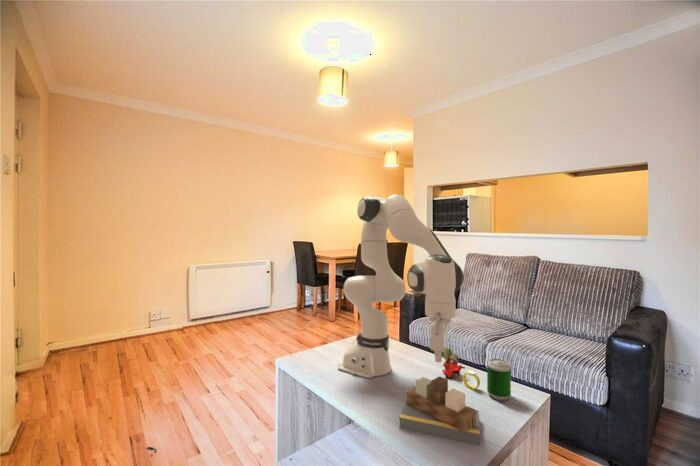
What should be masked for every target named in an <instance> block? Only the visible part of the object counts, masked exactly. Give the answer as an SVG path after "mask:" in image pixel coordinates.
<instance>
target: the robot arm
mask: <svg viewBox="0 0 700 466" xmlns="http://www.w3.org/2000/svg"><path fill="white" fill-rule="evenodd" d="M357 216H358V217H359V219H360V220H362V221H364V222H363V224H362V229H361V237H360V238H361V239H360V244H361V245H360V259H361V263H363V264H364V265H365V266H366V267H369V268H370V269H372V270H374V272H375V275H355V276H351V277H350V276H349V277H347V278H346V280H345V281H344V284H343V288H342V289H343V293H344V296H345V297H346V299H347V300H348V301H349V302H351V304H353V305H354V306H355V308H356V310H357V311H358V314H359V318H360V331H359V332H358V334H357V335H356V337H355V341H356V342H355V343H354V344H352V345H351V346H349V347H348V348H347V349H346V351H345V352H344V355H343V358H342V359H341V360H340V361H339V362H338V364H337V369H338V370H339V369H340V370H339V371H341V370H343V371H342V372H345V371H346V372H345V373H348V372H349V374H352V375H355V374H356V376H360V377H362V378H363V377H364V378H366V379H371V378H374V377H378V376H385V375H387V374H389V373H391V371H392V369H393V368H392V367H393V366H392V365H391V360H390V353H389V348H390V337H389V336H390V335H389V333H388V331H389V329H388V327H389V326H388V325H389V323H388V322H389V321H388V320H389V319H388V316H387V314H386V313H384V311H382V310H380V309H378V308H376V307H374V305H373V303H393V302H398V301H399V302H400V301H401V300H402V299H403V298H404V297H405V295H406V291H407V289H406V284H405V282H404V280H403V279H402V277H400V276H398V274H396V273H395V272H394V270H393V269H392V268H391V266H390V263H389V258H388V246H387V245H388V242H387V231H388V229H389V232H390V233H391V235H392V236H393V238H394V239H395V240H398V241H399V242H402V243H406V244H410V245H414V246H417V247H419V248H422V249H424V250H425V251H426V252H427V253H428V256H427V257H426V259H425V260H424V261H422V262H419V263H414V264H412V265H411V266H410V267H409V269H408V271H407V274H406V275H407V277H406V278H407V279H406V280H407V286H408V287H409V288H410V289H411V290H412V291H413V292H414V293H419V294H425V298H424V315H425V316H426V317H428V320H429V321H430V323H431V324H430V330H429V331H430V332H429V333H430V335H429V336H430V338H429V348H430V350H431V351H432V352H433V353H434V361H435V363H439V364H440V363H442V361H443V351H444V348H446V342H447V335H448V332H449V328H450V323H451V322H452V319H454V318H456V314H457V313H456V310H457V309H456V305H457V304H456V303H457V301H456V296H455V293H456V292H458V290H459V289H461V287H462V285H463V283H464V280H465V275H464V272H463V269H462V268H461V267H460V265H459V264H458V263H457V262H456V260H455V259H453V258H452V256H451V255H450V253H449V252H448V251H447V249H446V248H445V247H444V245H443V244H442V242H441V240H440V239H439V237H437V235H436V233H435V232H434V231H433V230H432V229H431V228H430V227H428V226H426V225H425V224H424V223H423V222H422V221H421V220H420V219H419V218H418V217H417V215H416V213H415V211H414V208H413V207H412V205H411V204H410V202H409V200H408V199H406V197H405V196H403V195H401V194H392V195H390V196H389V197H388V196H387V197H378V196H372V195H369V196H364V197H362V198H361V199H360V200H359V202H358V205H357Z"/></svg>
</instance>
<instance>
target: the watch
mask: <svg viewBox="0 0 700 466" xmlns="http://www.w3.org/2000/svg"><path fill="white" fill-rule="evenodd" d="M467 375H469V376H473V377H474V378H475V380H476V382H477V386H476V387H475V386H473V385H470V384H469V383H468V382H467V379H466V377H467ZM462 381H463V384H464V385H465V386H466V387H467V388H469V389H471V390H476V389H478V388H479V387H480V385H481V380H480V377H479V376H478V375H477V374H476V372H475V371H474V370H472V369H470V370H467V372H465V373H464V374H463V376H462Z"/></svg>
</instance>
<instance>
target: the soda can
mask: <svg viewBox="0 0 700 466" xmlns="http://www.w3.org/2000/svg"><path fill="white" fill-rule="evenodd" d="M486 368H487V369H486V370H487V372H486V373H487V376H486V377H487V378H486V379H487V382H486V383H487V384H486V386H487V387H486V391H487V394H488V395H489V396H490V398H492V399H494V400H497V401H502V400H504V401H507V400H508V399H509V398H510V397H511V396H512V395H511V393H512V392H511V391H512V390H511V389H512V367H511V365H510V364H509V362H507V361H506V360H504V359H501V358H491V359H490V360H488V362H487V366H486Z"/></svg>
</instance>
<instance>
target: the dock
mask: <svg viewBox="0 0 700 466" xmlns="http://www.w3.org/2000/svg"><path fill="white" fill-rule="evenodd" d="M406 402H407V398H406V400H405V402H404V405H403V407H402V410H401V413H400V415H399V428H400V429H404V430H408V431H414V432H418V433H422V434H427V435H431V436H437V437H441V438H446V439H450V440H453V441H454V440H456V441H459V442H463V443H464V442H465V443H469V444H473V445H477V446H480V443H481V441H480V440H481V438H480V437H481V436H480V435H481V434H480V432H481V431H480V414H479V413H480V411H479V409H478V410H477V409H475V410H476V424H475V425H474V426H472V428H471V429H470V430H469V429H468V431H467V432H466V433H465V432H463V431H461V430H459V429H457V428H454V427H452V426H450V425H448V424H446V423H444V422H442V421H440V420H438V419H436V418H434V417H432V416H430V415H428V414H426V413H424V412H422V411H420V410H418V409H416V408H414V407H412V406H410V405H408V404H406Z"/></svg>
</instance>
